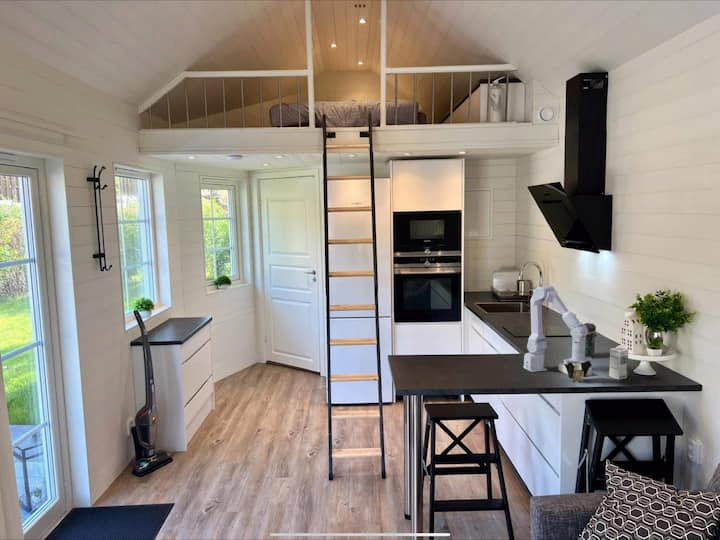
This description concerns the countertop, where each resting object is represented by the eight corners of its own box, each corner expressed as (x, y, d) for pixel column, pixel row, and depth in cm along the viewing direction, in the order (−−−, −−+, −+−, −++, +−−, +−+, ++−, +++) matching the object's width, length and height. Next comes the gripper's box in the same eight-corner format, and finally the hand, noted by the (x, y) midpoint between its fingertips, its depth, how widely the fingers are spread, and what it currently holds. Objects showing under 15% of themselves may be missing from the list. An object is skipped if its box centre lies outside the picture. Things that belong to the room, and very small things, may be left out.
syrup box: (618, 379, 243) (620, 350, 241) (608, 376, 248) (610, 347, 246) (627, 378, 245) (629, 349, 243) (616, 374, 250) (618, 346, 249)
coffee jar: (589, 359, 275) (591, 326, 273) (575, 356, 281) (576, 324, 279) (596, 355, 282) (598, 323, 280) (582, 352, 288) (583, 321, 285)
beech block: (576, 382, 241) (576, 372, 240) (570, 379, 244) (571, 369, 244) (583, 381, 242) (583, 371, 241) (577, 378, 245) (578, 368, 245)
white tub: (572, 377, 247) (572, 370, 246) (558, 370, 257) (558, 363, 257) (591, 375, 250) (591, 368, 249) (576, 368, 260) (576, 361, 260)
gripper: (571, 353, 235) (569, 381, 237) (597, 351, 239) (595, 378, 241) (561, 349, 242) (560, 376, 244) (586, 347, 246) (585, 373, 248)
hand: (577, 377), depth 243 cm, fingers open, 7 cm apart
